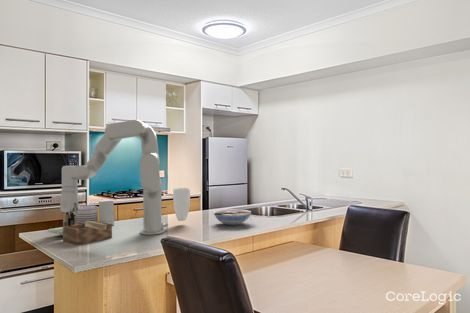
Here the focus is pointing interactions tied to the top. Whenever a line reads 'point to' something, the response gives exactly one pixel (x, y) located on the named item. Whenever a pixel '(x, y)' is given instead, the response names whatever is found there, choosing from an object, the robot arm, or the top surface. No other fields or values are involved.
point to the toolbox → (85, 233)
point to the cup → (181, 202)
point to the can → (87, 214)
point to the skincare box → (106, 211)
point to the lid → (60, 230)
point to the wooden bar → (95, 225)
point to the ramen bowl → (232, 216)
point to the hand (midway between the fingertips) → (69, 224)
